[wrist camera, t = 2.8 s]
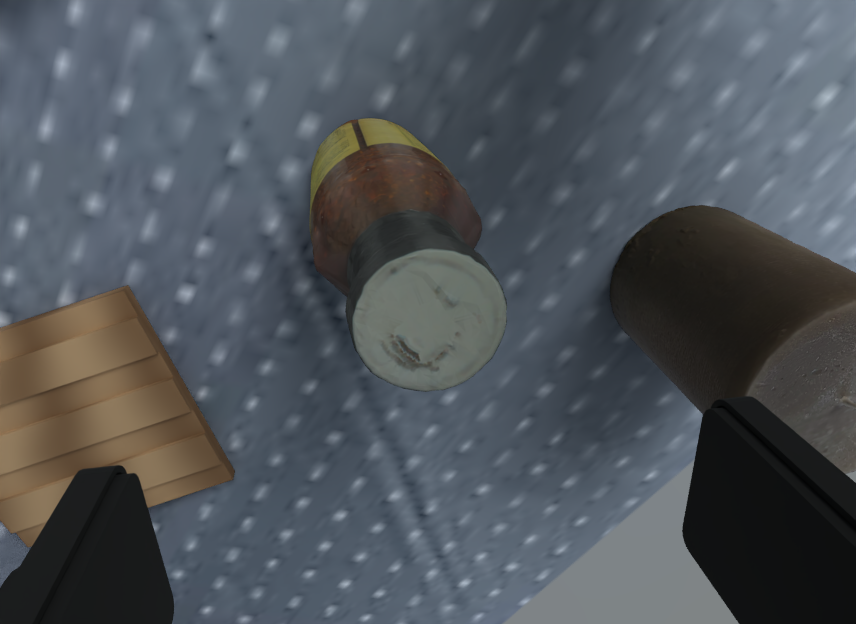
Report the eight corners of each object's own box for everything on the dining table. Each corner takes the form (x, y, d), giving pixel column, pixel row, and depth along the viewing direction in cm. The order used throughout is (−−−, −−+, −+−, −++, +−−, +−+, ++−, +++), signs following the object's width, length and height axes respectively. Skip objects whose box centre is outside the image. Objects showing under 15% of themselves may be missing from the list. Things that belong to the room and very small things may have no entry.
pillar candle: (606, 221, 36) (765, 337, 22) (763, 190, 36) (1011, 287, 23) (610, 360, 40) (744, 528, 27) (750, 331, 41) (951, 482, 27)
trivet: (128, 285, 34) (121, 292, 33) (234, 471, 40) (232, 482, 39) (-109, 364, 34) (-123, 374, 33) (33, 538, 40) (25, 550, 39)
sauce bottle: (332, 240, 34) (322, 466, 16) (296, 130, 32) (238, 253, 14) (443, 211, 34) (556, 402, 16) (418, 98, 32) (519, 179, 14)
